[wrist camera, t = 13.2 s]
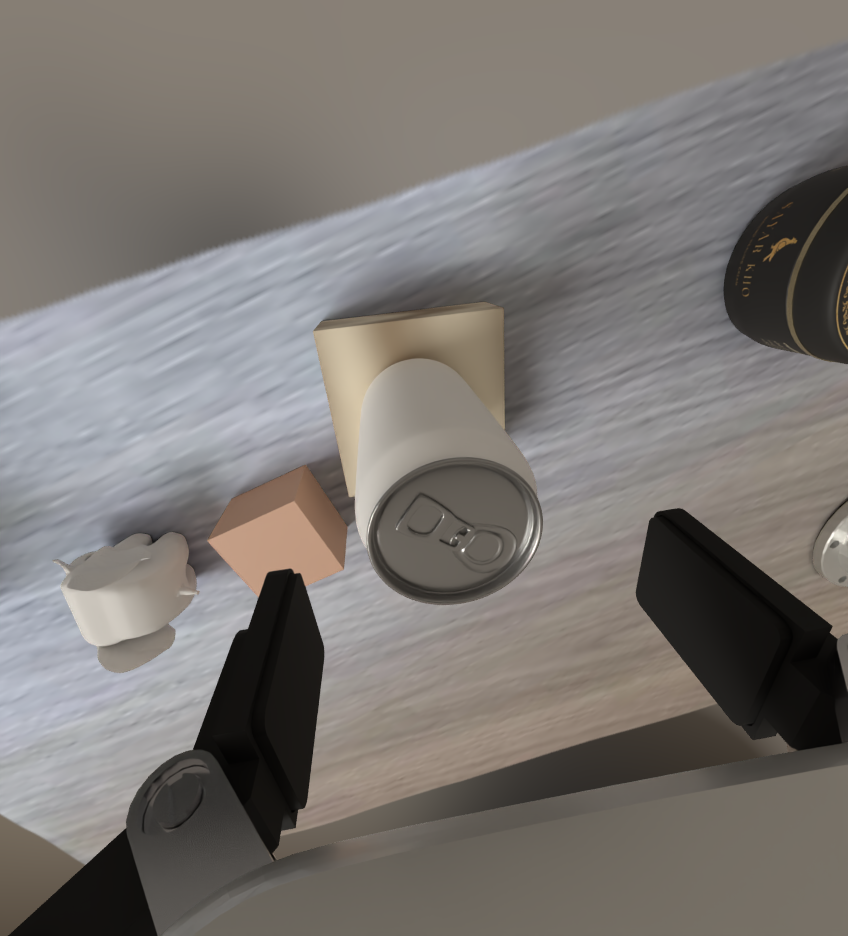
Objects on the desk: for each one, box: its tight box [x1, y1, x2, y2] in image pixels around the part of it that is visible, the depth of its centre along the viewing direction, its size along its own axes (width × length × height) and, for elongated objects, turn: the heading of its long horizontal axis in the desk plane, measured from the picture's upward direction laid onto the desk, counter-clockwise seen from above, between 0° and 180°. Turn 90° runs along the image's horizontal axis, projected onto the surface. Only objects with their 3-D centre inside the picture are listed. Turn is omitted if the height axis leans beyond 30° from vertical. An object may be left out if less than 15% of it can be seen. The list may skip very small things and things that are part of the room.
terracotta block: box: [207, 465, 347, 597], centre depth 28 cm, size 6×6×5 cm
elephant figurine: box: [52, 532, 199, 673], centre depth 27 cm, size 8×10×7 cm
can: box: [355, 358, 543, 605], centre depth 18 cm, size 6×6×12 cm
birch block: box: [313, 302, 505, 497], centre depth 25 cm, size 10×10×4 cm
